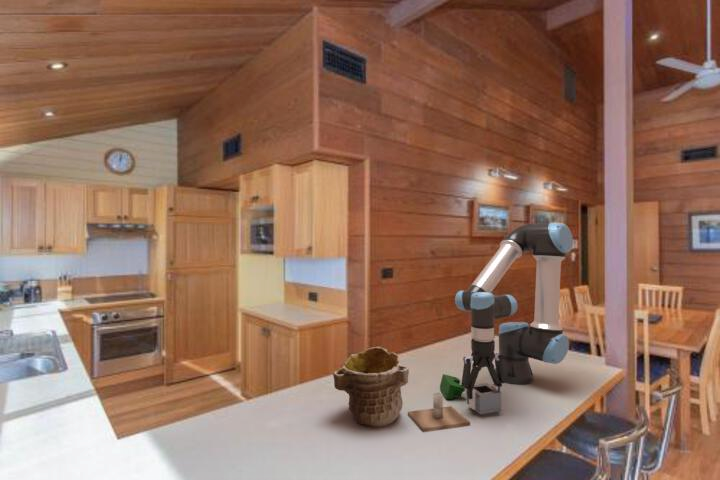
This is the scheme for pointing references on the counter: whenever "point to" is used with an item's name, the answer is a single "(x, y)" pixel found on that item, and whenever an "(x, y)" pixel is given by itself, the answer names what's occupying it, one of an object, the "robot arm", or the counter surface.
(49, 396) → the counter surface
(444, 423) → the post board
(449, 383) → the clamp
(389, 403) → the ceramic vessel
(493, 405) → the collar
